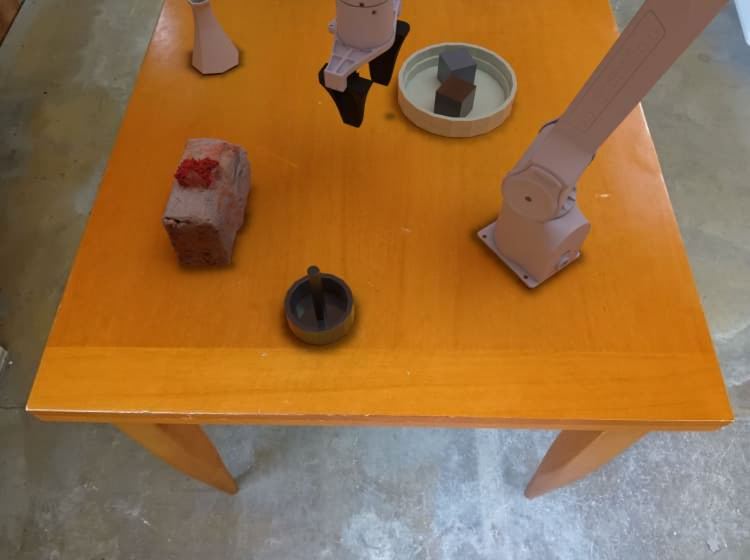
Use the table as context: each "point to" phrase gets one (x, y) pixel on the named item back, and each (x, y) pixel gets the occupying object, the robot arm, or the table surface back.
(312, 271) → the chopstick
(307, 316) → the holder
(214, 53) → the flask
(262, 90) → the table surface
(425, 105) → the bowl
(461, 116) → the walnut block
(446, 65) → the slate block
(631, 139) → the table surface
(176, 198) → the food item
